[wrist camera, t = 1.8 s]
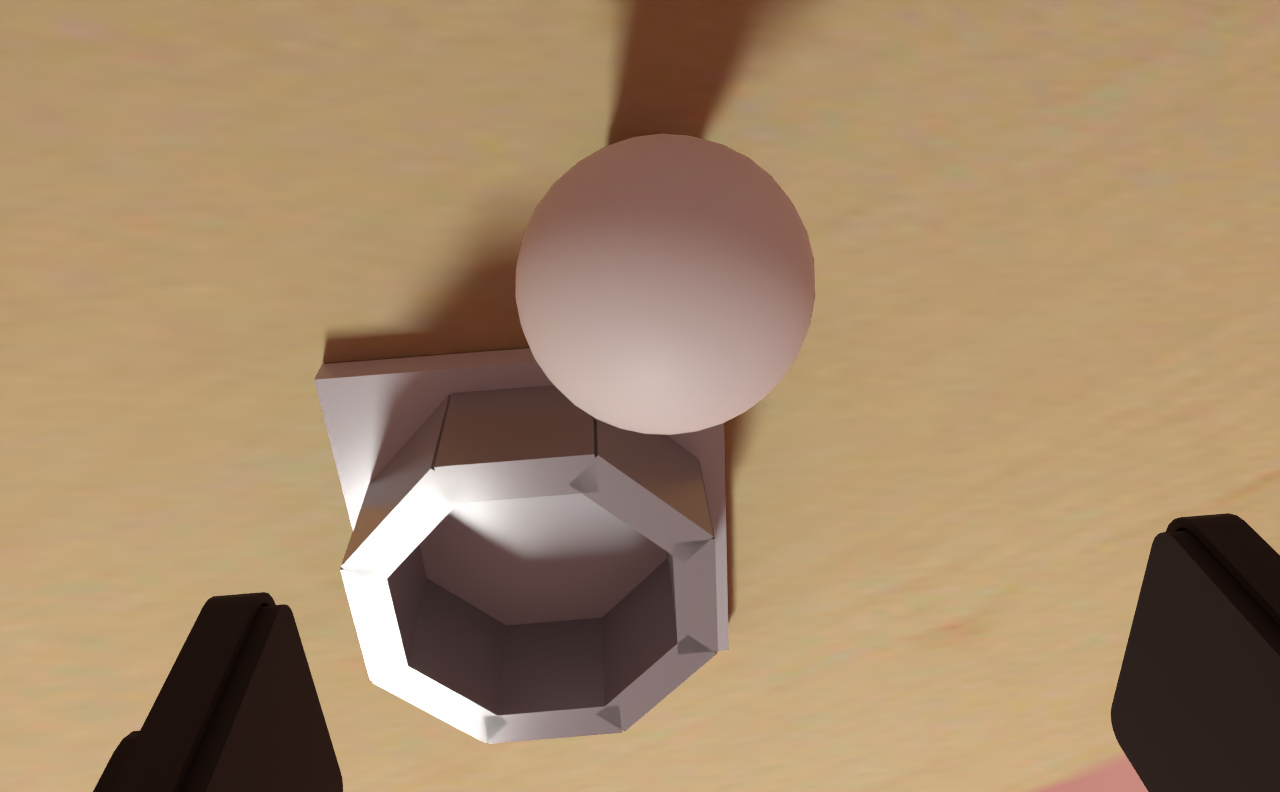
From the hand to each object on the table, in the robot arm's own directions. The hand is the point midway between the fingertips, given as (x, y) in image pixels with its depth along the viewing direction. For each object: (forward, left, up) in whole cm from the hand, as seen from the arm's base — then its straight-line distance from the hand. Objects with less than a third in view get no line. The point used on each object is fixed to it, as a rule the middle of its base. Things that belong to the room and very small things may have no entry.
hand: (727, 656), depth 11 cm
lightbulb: (0, 0, -19) cm, 19 cm away
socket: (+4, +11, -19) cm, 22 cm away
